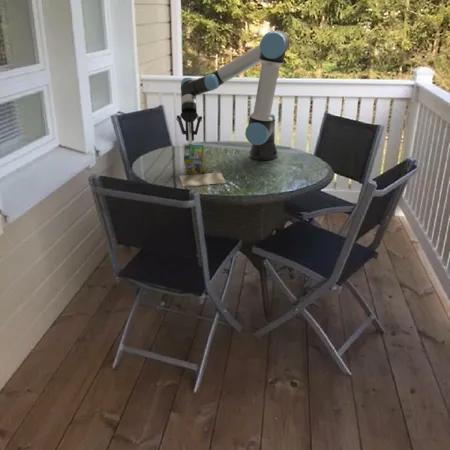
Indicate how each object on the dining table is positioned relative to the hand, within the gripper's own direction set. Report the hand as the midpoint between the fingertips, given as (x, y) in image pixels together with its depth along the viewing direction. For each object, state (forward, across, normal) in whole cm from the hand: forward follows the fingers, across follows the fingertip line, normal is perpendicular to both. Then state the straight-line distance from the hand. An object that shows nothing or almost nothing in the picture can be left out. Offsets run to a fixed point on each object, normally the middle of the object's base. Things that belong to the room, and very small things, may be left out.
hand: (190, 145), depth 246 cm
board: (+18, -5, -1) cm, 19 cm away
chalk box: (+7, -4, -9) cm, 12 cm away
